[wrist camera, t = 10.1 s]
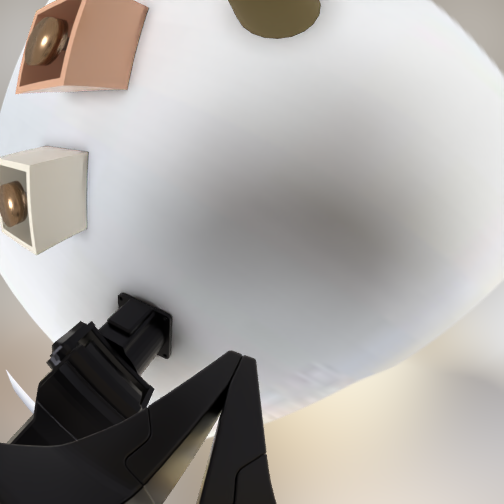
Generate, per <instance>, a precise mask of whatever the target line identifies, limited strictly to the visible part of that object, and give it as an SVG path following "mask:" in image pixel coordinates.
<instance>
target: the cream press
mask: <svg viewBox="0 0 504 504" xmlns="http://www.w3.org/2000/svg"><path fill="white" fill-rule="evenodd" d="M87 164H88V152H84V151H78V150H71V149H65V148H57V147H50V146H43V147H39V148H34V149H29V150H25V151H21V152H16V153H12V154H8V155H5V156H1V157H0V186H1V185H3V184H6V183H9V182H12V181H19V182H20V183H21V185H22V187H23V189H24V191H25V192H27V202H28V204H27V207H28V211H27V217H26V219H25V221H23V222H21V223H19V224H17V225H14V226H12V227H8V226H7V225H6V224H5V223H4V221H3V219H2V217H1V214H0V222H1V229H2V232H3V233H4V234H6V235H7V236H8V237H10V238H11V239H13V240H14V241H16V242H17V243H19V244H20V245H22V246H23V247H25V248H26V249H28V250H29V251H31V252H32V253H34V254H35V255H38V254H40V253H42V252H44V251H45V250H47V249H49V248H51V247H53V246H55V245H56V244H58V243H60V242H62V241H64V240H66V239H68V238H70V237H72V236H74V235H76V234H78V233H80V232H82V231H84V230H86V229H87V216H86V190H87Z"/></svg>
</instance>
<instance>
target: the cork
mask: <svg viewBox="0 0 504 504" xmlns="http://www.w3.org/2000/svg"><path fill="white" fill-rule="evenodd" d="M228 1H229V3H230V5H231V7H232V9H233V11H234V13H235V15H236V17H237V19H238V20H239V22H240V23H241V25H242V26H243V27H244V28H245V29H247V30H248V31H250V32H251V33H253V34H255V35H258V36H261V37H264V38H276V39H279V38H285V37H292V36H294V35H297V34H299V33H302V32H304V31H305V30H306V29H308V28H309V27H310V26H312V25H313V24H314V22H315V21H316V19H317V18H318V16H319V13H320V6H321V4H320V1H319V0H228Z"/></svg>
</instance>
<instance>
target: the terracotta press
mask: <svg viewBox="0 0 504 504" xmlns="http://www.w3.org/2000/svg"><path fill="white" fill-rule="evenodd" d="M147 11H148V7H146V6H144V5H142V4H140V3H138V2H136V1H134V0H56V1H54V2H52V3H50V4H48V5H46V6H44V7H43V8H41V9H39V10H37V11H36V14H35V16H34V19H33V22H32V25H31V29H30V32H29V35H28V38H27V41H28V39H29V36H30V34H31V32H32V31H33V29H34V28H35V26H36V25H37V24H38V23H39V22H40V21H41V20H42V19H43V18H45V17H53V18H59V19H64V20H66V21H67V22H68V26H69V30H68V36H67V37H70V38H69V42H68V46H67V50H66V51H63V50H62V51H61V52H60V54H59V56H58V57H57V58H56V59H55V61H53V62H52V63H51V64H50V65H47V66H36V65H27V64H26V62H25V49H24V53H23V58H22V62H21V67H20V71H19V76H18V82H17V88H16V94H24V93H43V92H79V91H95V90H127V88H128V83H129V78H130V73H131V69H132V64H133V60H134V56H135V52H136V48H137V44H138V41H139V37H140V34H141V30H142V27H143V24H144V20H145V17H146V14H147ZM26 44H27V42H26ZM25 48H26V46H25Z"/></svg>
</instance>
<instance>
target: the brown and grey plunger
mask: <svg viewBox="0 0 504 504" xmlns="http://www.w3.org/2000/svg"><path fill="white" fill-rule="evenodd" d="M68 30H69V26H68V22H67V21H66V20H64V19H59V18H53V17H45V18H43V19H42V20H41V21H40V22H39V23H38V24H37V25H36V26H35V28H34V29H33V31H32V32H31V34H30V36H29V39H28V41H27V44H26V48H25V62H26V64H27V65H36V66H47V65H50V64H51V63H52V62H53V61H55V59H56V58H57V57H58V56H59V54H60V52H61V51H62V50H63V51H66V50H67V46H68V42H69V38H70V37H67V36H68Z"/></svg>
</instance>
